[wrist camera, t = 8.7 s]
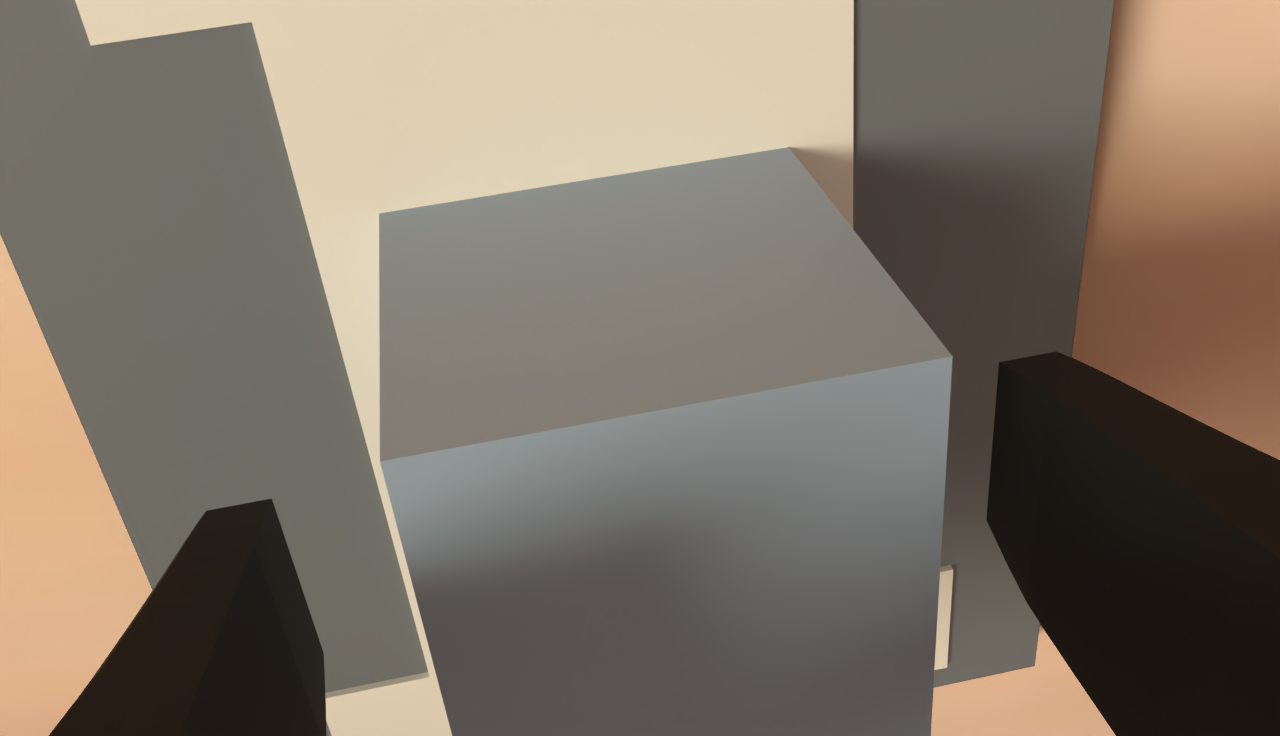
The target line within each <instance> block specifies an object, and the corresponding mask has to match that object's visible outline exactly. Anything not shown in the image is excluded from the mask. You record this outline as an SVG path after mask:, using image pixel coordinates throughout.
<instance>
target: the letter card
mask: <svg viewBox="0 0 1280 736" xmlns="http://www.w3.org/2000/svg"><path fill="white" fill-rule="evenodd" d="M1113 5H1114V0H0V234H1V237H2V239H3V241H4V244H5V246H6V248H7V251H8V253H9V255H10V258H11V260H12V262H13V265H14V267H15V269H16V272H17V274H18V276H19V279H20V281H21V283H22V286H23V288H24V290H25V293H26V295H27V297H28V300H29V302H30V304H31V307H32V309H33V311H34V314H35V316H36V318H37V321H38V323H39V325H40V328H41V330H42V332H43V335H44V337H45V339H46V342H47V344H48V346H49V349H50V351H51V353H52V356H53V358H54V360H55V363H56V365H57V367H58V370H59V372H60V374H61V377H62V379H63V382H64V384H65V386H66V389H67V391H68V393H69V396H70V398H71V400H72V403H73V405H74V407H75V410H76V412H77V414H78V417H79V419H80V421H81V424H82V426H83V428H84V431H85V433H86V435H87V438H88V440H89V442H90V445H91V447H92V449H93V452H94V454H95V456H96V459H97V461H98V463H99V466H100V468H101V470H102V473H103V475H104V477H105V480H106V482H107V484H108V487H109V489H110V491H111V494H112V496H113V498H114V501H115V503H116V505H117V508H118V510H119V512H120V515H121V517H122V519H123V522H124V524H125V527H126V529H127V531H128V534H129V536H130V538H131V541H132V543H133V545H134V548H135V550H136V552H137V555H138V557H139V559H140V562H141V564H142V566H143V569H144V571H145V573H146V576H147V578H148V580H149V583H150V585H151V587H152V590H153V589H154V588H155V586H156V585H157V583H158V582H159V580H160V579H161V577H162V576H163V574H164V573H165V571H166V569H167V568H168V566H169V565H170V563H171V562H172V560H173V559H174V557H175V556H176V554H177V552H178V551H179V549H180V548H181V546H182V545H183V543H184V542H185V540H186V539H187V537H188V536H189V534H190V533H191V531H192V530H193V528H194V527H195V525H196V524H197V522H198V521H199V520H200V518H201V517H202V516H203V514H204V513H205V512H206V511H207V510H213V509H218V508H224V507H229V506H234V505H240V504H245V503H250V502H256V501H261V500H266V499H272V501H273V504H274V507H275V510H276V512H277V515H278V518H279V521H280V524H281V527H282V530H283V533H284V536H285V539H286V542H287V545H288V548H289V551H290V554H291V557H292V560H293V563H294V566H295V569H296V572H297V575H298V578H299V581H300V584H301V587H302V590H303V593H304V596H305V599H306V602H307V605H308V608H309V611H310V614H311V617H312V620H313V623H314V626H315V629H316V632H317V635H318V638H319V641H320V644H321V647H322V650H323V653H324V672H325V698H326V736H452V733H451V729H450V725H449V722H448V718H447V714H446V710H445V706H444V703H443V699H442V695H441V691H440V687H439V684H438V680H437V676H436V672H435V669H434V665H433V661H432V657H431V653H430V650H429V646H428V642H427V638H426V634H425V631H424V627H423V623H422V619H421V615H420V612H419V608H418V604H417V600H416V596H415V593H414V589H413V585H412V581H411V578H410V574H409V570H408V566H407V562H406V559H405V555H404V551H403V547H402V543H401V540H400V536H399V532H398V528H397V524H396V521H395V517H394V513H393V509H392V506H391V502H390V498H389V494H388V490H387V487H386V483H385V479H384V475H383V471H382V468H381V464H380V332H379V213H385V212H391V211H397V210H404V209H410V208H416V207H422V206H428V205H434V204H441V203H447V202H453V201H459V200H465V199H472V198H478V197H484V196H490V195H496V194H502V193H509V192H515V191H521V190H527V189H533V188H539V187H546V186H552V185H558V184H564V183H570V182H577V181H583V180H589V179H595V178H601V177H607V176H614V175H620V174H626V173H632V172H638V171H644V170H651V169H657V168H663V167H669V166H675V165H682V164H688V163H694V162H700V161H706V160H712V159H719V158H725V157H731V156H737V155H743V154H749V153H756V152H762V151H768V150H774V149H780V148H787V147H789V148H790V149H791V151H792V152H793V153H794V154H795V156H796V157H797V158H798V160H799V161H800V162H801V163H802V165H803V166H804V167H805V168H806V170H807V171H808V172H809V174H810V175H811V176H812V177H813V179H814V180H815V181H816V183H817V184H818V185H819V186H820V188H821V189H822V190H823V191H824V193H825V194H826V195H827V197H828V198H829V199H830V200H831V202H832V203H833V204H834V206H835V207H836V208H837V209H838V211H839V212H840V213H841V214H842V216H843V217H844V218H845V220H846V221H847V222H848V223H849V225H850V226H851V227H852V228H853V230H854V231H855V232H856V234H857V235H858V236H859V237H860V239H861V240H862V241H863V243H864V244H865V245H866V246H867V248H868V249H869V250H870V251H871V253H872V254H873V255H874V257H875V258H876V259H877V260H878V262H879V263H880V264H881V266H882V267H883V268H884V269H885V271H886V272H887V273H888V274H889V276H890V277H891V278H892V280H893V281H894V282H895V283H896V285H897V286H898V287H899V289H900V290H901V291H902V292H903V294H904V295H905V296H906V297H907V299H908V300H909V301H910V303H911V304H912V305H913V306H914V308H915V309H916V310H917V312H918V313H919V314H920V315H921V317H922V318H923V319H924V320H925V322H926V323H927V324H928V326H929V327H930V328H931V329H932V331H933V332H934V333H935V334H936V336H937V337H938V338H939V340H940V341H941V342H942V343H943V345H944V346H945V347H946V349H947V350H948V351H949V352H950V354H951V355H952V356H953V358H952V375H951V393H950V410H949V427H948V444H947V461H946V478H945V496H944V513H943V530H942V547H941V564H940V581H939V599H938V616H937V633H936V650H935V667H934V684H933V688H934V687H939V686H943V685H948V684H953V683H957V682H962V681H967V680H971V679H976V678H981V677H985V676H990V675H994V674H999V673H1004V672H1008V671H1013V670H1018V669H1022V668H1027V667H1032V666H1035V659H1036V650H1037V642H1038V634H1039V625H1040V622H1039V621H1038V619H1037V618H1036V616H1035V615H1034V613H1033V612H1032V610H1031V609H1030V607H1029V605H1028V604H1027V602H1026V600H1025V598H1024V596H1023V594H1022V592H1021V591H1020V589H1019V587H1018V585H1017V583H1016V581H1015V579H1014V577H1013V575H1012V573H1011V571H1010V569H1009V567H1008V565H1007V563H1006V561H1005V559H1004V557H1003V554H1002V552H1001V550H1000V548H999V546H998V544H997V542H996V540H995V537H994V535H993V533H992V531H991V529H990V527H989V525H988V523H987V520H986V517H987V505H988V492H989V480H990V467H991V455H992V443H993V430H994V418H995V405H996V393H997V380H998V368H999V362H1003V361H1008V360H1014V359H1019V358H1024V357H1030V356H1035V355H1040V354H1046V353H1051V352H1056V351H1057V352H1059V353H1062V354H1064V355H1066V356H1069V357H1072V349H1073V340H1074V332H1075V324H1076V315H1077V307H1078V299H1079V290H1080V282H1081V273H1082V265H1083V257H1084V248H1085V240H1086V232H1087V223H1088V215H1089V206H1090V198H1091V190H1092V181H1093V173H1094V165H1095V156H1096V148H1097V139H1098V131H1099V123H1100V114H1101V106H1102V98H1103V89H1104V81H1105V72H1106V64H1107V56H1108V47H1109V39H1110V31H1111V22H1112V14H1113Z"/></svg>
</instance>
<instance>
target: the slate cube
mask: <svg viewBox="0 0 1280 736" xmlns="http://www.w3.org/2000/svg"><path fill="white" fill-rule="evenodd" d="M379 332H380V464H381V468H382V471H383V475H384V479H385V483H386V487H387V490H388V494H389V498H390V502H391V506H392V509H393V513H394V517H395V521H396V524H397V528H398V532H399V536H400V540H401V543H402V547H403V551H404V555H405V559H406V562H407V566H408V570H409V574H410V578H411V581H412V585H413V589H414V593H415V596H416V600H417V604H418V608H419V612H420V615H421V619H422V623H423V627H424V631H425V634H426V638H427V642H428V646H429V650H430V653H431V657H432V661H433V665H434V669H435V672H436V676H437V680H438V684H439V687H440V691H441V695H442V699H443V703H444V706H445V710H446V714H447V718H448V722H449V725H450V729H451V733H452V736H931V719H932V702H933V684H934V667H935V650H936V633H937V616H938V599H939V581H940V564H941V547H942V530H943V513H944V496H945V478H946V461H947V444H948V427H949V410H950V393H951V375H952V358H953V356H952V355H951V354H950V352H949V351H948V350H947V349H946V347H945V346H944V345H943V343H942V342H941V341H940V340H939V338H938V337H937V336H936V334H935V333H934V332H933V331H932V329H931V328H930V327H929V326H928V324H927V323H926V322H925V320H924V319H923V318H922V317H921V315H920V314H919V313H918V312H917V310H916V309H915V308H914V306H913V305H912V304H911V303H910V301H909V300H908V299H907V297H906V296H905V295H904V294H903V292H902V291H901V290H900V289H899V287H898V286H897V285H896V283H895V282H894V281H893V280H892V278H891V277H890V276H889V274H888V273H887V272H886V271H885V269H884V268H883V267H882V266H881V264H880V263H879V262H878V260H877V259H876V258H875V257H874V255H873V254H872V253H871V251H870V250H869V249H868V248H867V246H866V245H865V244H864V243H863V241H862V240H861V239H860V237H859V236H858V235H857V234H856V232H855V231H854V230H853V228H852V227H851V226H850V225H849V223H848V222H847V221H846V220H845V218H844V217H843V216H842V214H841V213H840V212H839V211H838V209H837V208H836V207H835V206H834V204H833V203H832V202H831V200H830V199H829V198H828V197H827V195H826V194H825V193H824V191H823V190H822V189H821V188H820V186H819V185H818V184H817V183H816V181H815V180H814V179H813V177H812V176H811V175H810V174H809V172H808V171H807V170H806V168H805V167H804V166H803V165H802V163H801V162H800V161H799V160H798V158H797V157H796V156H795V154H794V153H793V152H792V151H791V149H790V148H789V147H787V148H780V149H774V150H768V151H762V152H756V153H749V154H743V155H737V156H731V157H725V158H719V159H712V160H706V161H700V162H694V163H688V164H682V165H675V166H669V167H663V168H657V169H651V170H644V171H638V172H632V173H626V174H620V175H614V176H607V177H601V178H595V179H589V180H583V181H577V182H570V183H564V184H558V185H552V186H546V187H539V188H533V189H527V190H521V191H515V192H509V193H502V194H496V195H490V196H484V197H478V198H472V199H465V200H459V201H453V202H447V203H441V204H434V205H428V206H422V207H416V208H410V209H404V210H397V211H391V212H385V213H379Z"/></svg>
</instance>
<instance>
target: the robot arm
mask: <svg viewBox="0 0 1280 736" xmlns="http://www.w3.org/2000/svg"><path fill="white" fill-rule="evenodd" d="M986 520H987V523H988V525H989V527H990V529H991V531H992V533H993V535H994V537H995V540H996V542H997V544H998V546H999V548H1000V550H1001V552H1002V554H1003V557H1004V559H1005V561H1006V563H1007V565H1008V567H1009V569H1010V571H1011V573H1012V575H1013V577H1014V579H1015V581H1016V583H1017V585H1018V587H1019V589H1020V591H1021V592H1022V594H1023V596H1024V598H1025V600H1026V602H1027V604H1028V605H1029V607H1030V609H1031V610H1032V612H1033V613H1034V615H1035V616H1036V618H1037V619H1038V621H1039V622H1040V624H1041V625H1042V627H1043V628H1044V630H1045V631H1046V633H1047V634H1048V636H1049V637H1050V639H1051V640H1052V642H1053V643H1054V645H1055V646H1056V648H1057V649H1058V651H1059V652H1060V654H1061V655H1062V657H1063V658H1064V660H1065V661H1066V663H1067V664H1068V666H1069V667H1070V669H1071V670H1072V672H1073V673H1074V675H1075V676H1076V678H1077V679H1078V681H1079V682H1080V683H1081V685H1082V686H1083V688H1084V689H1085V691H1086V692H1087V694H1088V695H1089V697H1090V698H1091V700H1092V701H1093V703H1094V704H1095V705H1096V707H1097V708H1098V710H1099V711H1100V713H1101V714H1102V716H1103V717H1104V719H1105V720H1106V722H1107V723H1108V725H1109V726H1110V727H1111V729H1112V730H1113V732H1114V733H1115V735H1116V736H1280V460H1278V459H1276V458H1274V457H1272V456H1270V455H1267V454H1265V453H1263V452H1261V451H1259V450H1257V449H1255V448H1253V447H1251V446H1248V445H1246V444H1244V443H1242V442H1240V441H1238V440H1236V439H1234V438H1232V437H1230V436H1228V435H1226V434H1224V433H1222V432H1220V431H1218V430H1216V429H1214V428H1212V427H1210V426H1208V425H1206V424H1204V423H1202V422H1200V421H1198V420H1196V419H1194V418H1192V417H1190V416H1188V415H1186V414H1184V413H1182V412H1180V411H1178V410H1176V409H1174V408H1172V407H1170V406H1168V405H1166V404H1164V403H1162V402H1160V401H1158V400H1156V399H1154V398H1152V397H1150V396H1148V395H1146V394H1144V393H1142V392H1140V391H1139V390H1137V389H1135V388H1133V387H1131V386H1129V385H1127V384H1125V383H1123V382H1121V381H1119V380H1117V379H1115V378H1113V377H1111V376H1109V375H1107V374H1105V373H1103V372H1101V371H1099V370H1097V369H1095V368H1093V367H1090V366H1088V365H1086V364H1084V363H1082V362H1080V361H1078V360H1076V359H1073V358H1071V357H1069V356H1066V355H1064V354H1062V353H1059V352H1057V351H1056V352H1051V353H1046V354H1040V355H1035V356H1030V357H1024V358H1019V359H1014V360H1008V361H1003V362H999V368H998V380H997V393H996V405H995V418H994V430H993V443H992V455H991V467H990V480H989V492H988V505H987V517H986ZM49 736H326V698H325V672H324V653H323V650H322V647H321V644H320V641H319V638H318V635H317V632H316V629H315V626H314V623H313V620H312V617H311V614H310V611H309V608H308V605H307V602H306V599H305V596H304V593H303V590H302V587H301V584H300V581H299V578H298V575H297V572H296V569H295V566H294V563H293V560H292V557H291V554H290V551H289V548H288V545H287V542H286V539H285V536H284V533H283V530H282V527H281V524H280V521H279V518H278V515H277V512H276V510H275V507H274V504H273V501H272V499H266V500H261V501H256V502H250V503H245V504H240V505H234V506H229V507H224V508H218V509H213V510H207V511H206V512H205V513H204V514H203V516H202V517H201V518H200V520H199V521H198V522H197V524H196V525H195V527H194V528H193V530H192V531H191V533H190V534H189V536H188V537H187V539H186V540H185V542H184V543H183V545H182V546H181V548H180V549H179V551H178V552H177V554H176V556H175V557H174V559H173V560H172V562H171V563H170V565H169V566H168V568H167V569H166V571H165V573H164V574H163V576H162V577H161V579H160V580H159V582H158V583H157V585H156V586H155V588H154V589H153V591H152V592H151V594H150V595H149V597H148V598H147V600H146V601H145V603H144V604H143V606H142V607H141V609H140V610H139V612H138V613H137V615H136V616H135V618H134V619H133V621H132V622H131V624H130V625H129V627H128V628H127V629H126V631H125V632H124V634H123V635H122V637H121V638H120V639H119V641H118V642H117V644H116V645H115V647H114V648H113V650H112V651H111V652H110V654H109V655H108V657H107V658H106V660H105V661H104V662H103V664H102V665H101V667H100V668H99V670H98V671H97V672H96V674H95V675H94V677H93V678H92V680H91V681H90V682H89V684H88V685H87V686H86V688H85V689H84V690H83V692H82V693H81V695H80V696H79V697H78V699H77V700H76V701H75V702H74V704H73V705H72V706H71V708H70V709H69V710H68V711H67V713H66V714H65V715H64V717H63V718H62V719H61V720H60V722H59V723H58V724H57V726H56V727H55V728H54V730H53V731H52V732H51V733H50V735H49Z"/></svg>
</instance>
